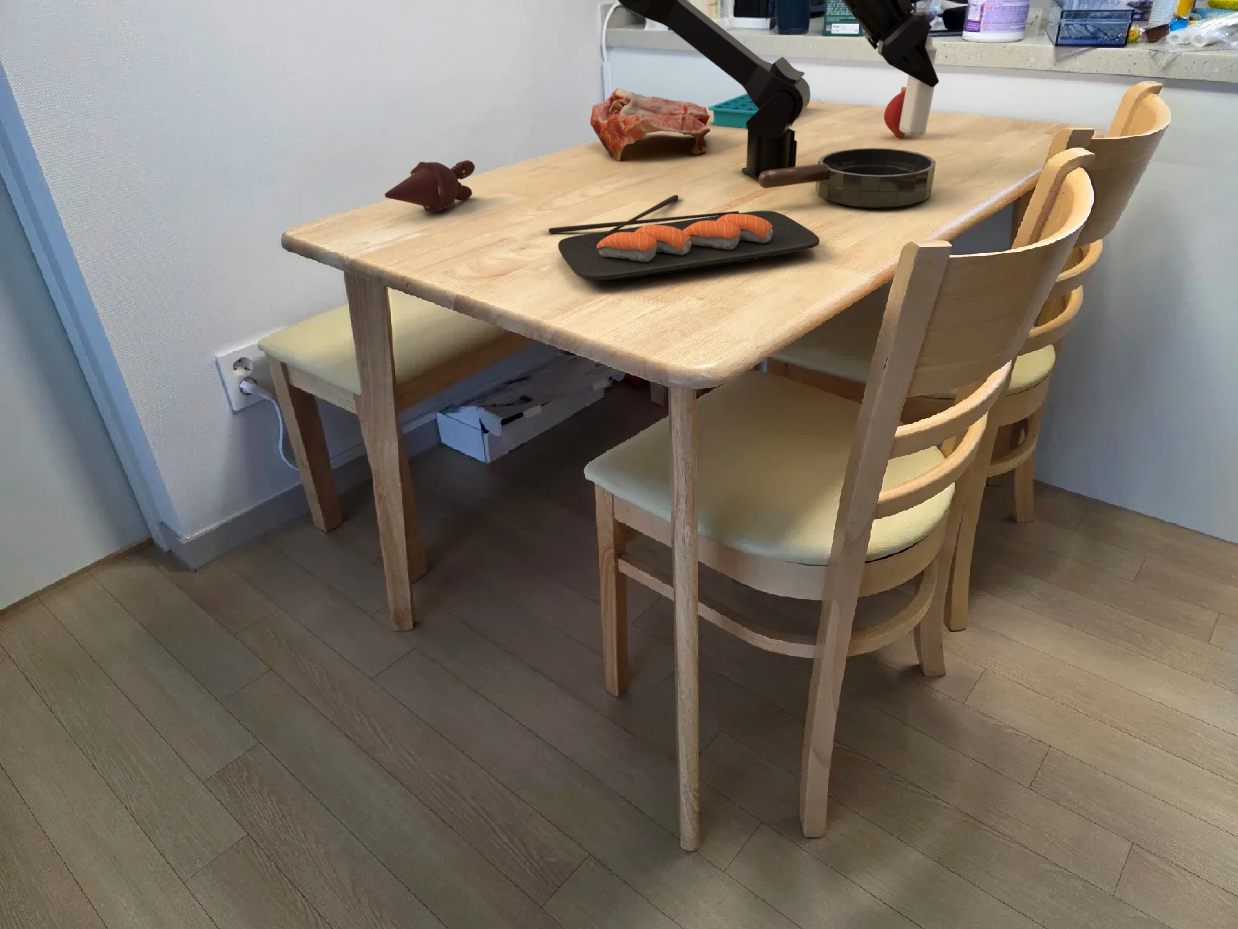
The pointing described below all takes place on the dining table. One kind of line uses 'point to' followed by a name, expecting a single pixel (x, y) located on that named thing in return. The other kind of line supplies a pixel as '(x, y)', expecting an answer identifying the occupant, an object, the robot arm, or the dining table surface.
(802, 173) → the handle
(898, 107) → the onion
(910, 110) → the eye dropper bottle
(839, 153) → the dark frying pan
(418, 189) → the icecream
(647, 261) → the sushi plate
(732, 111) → the ice cube tray
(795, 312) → the dining table surface
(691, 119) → the meat
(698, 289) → the dining table surface
